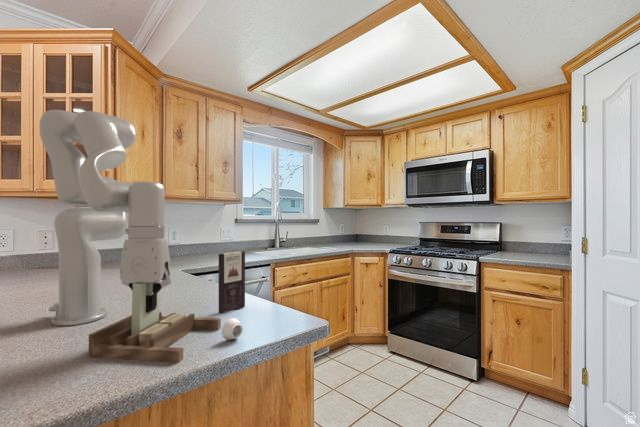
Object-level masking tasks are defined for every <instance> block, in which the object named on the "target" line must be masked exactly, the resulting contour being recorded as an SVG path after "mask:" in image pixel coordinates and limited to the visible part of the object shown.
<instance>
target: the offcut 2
mask: <svg viewBox="0 0 640 427" xmlns="http://www.w3.org/2000/svg"><path fill="white" fill-rule="evenodd" d="M185 317H186V314H185V313H176V314H173V315H171V316H170V317H168V318H166V319H164V320H162V321H161V322H160V324H169V327H170V326H172V325H173V324H175V323H177V322H178V321H180V320H181V319H183V318H185Z"/></svg>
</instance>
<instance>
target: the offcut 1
mask: <svg viewBox="0 0 640 427" xmlns="http://www.w3.org/2000/svg"><path fill="white" fill-rule="evenodd" d="M168 327H169V324H155V325H154V326H152V327H150V328H148V329H146V330H145V331H143V332H141V333H139V346H149V339H151V338H152V337H154V336H155V335H157V334H159V333H160V332H162V331H164V330H165V329H167V328H168Z"/></svg>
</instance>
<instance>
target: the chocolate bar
mask: <svg viewBox="0 0 640 427" xmlns="http://www.w3.org/2000/svg"><path fill="white" fill-rule="evenodd" d="M245 307H246V251H243V250H242V251H235V252H225V253H218V314H223V313H228V312H231V311H234V310H237V309H241V308H245Z"/></svg>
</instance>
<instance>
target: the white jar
mask: <svg viewBox="0 0 640 427" xmlns="http://www.w3.org/2000/svg"><path fill="white" fill-rule="evenodd" d="M221 328H222V329H221V335H222V338H224V340H226V341H231V340H235V339H238V338H239V337H240V336H241V335H242V333H243V325H241V322H240V320H239V319H237V318H235V317H231V318H229V319H227V320H226V321H225V322H224V324H223V326H222V327H221Z"/></svg>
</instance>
